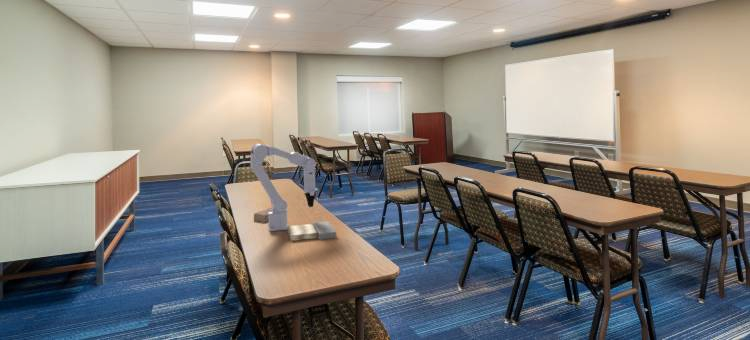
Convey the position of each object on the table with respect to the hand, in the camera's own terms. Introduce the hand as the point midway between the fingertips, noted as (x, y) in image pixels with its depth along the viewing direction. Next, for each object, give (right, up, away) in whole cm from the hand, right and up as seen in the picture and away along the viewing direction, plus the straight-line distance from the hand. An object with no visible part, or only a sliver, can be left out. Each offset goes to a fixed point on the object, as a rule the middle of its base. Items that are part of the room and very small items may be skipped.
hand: (310, 206), depth 221 cm
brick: (-25, -8, +17) cm, 31 cm away
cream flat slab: (-2, -12, -17) cm, 21 cm away
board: (+8, -11, -14) cm, 20 cm away
